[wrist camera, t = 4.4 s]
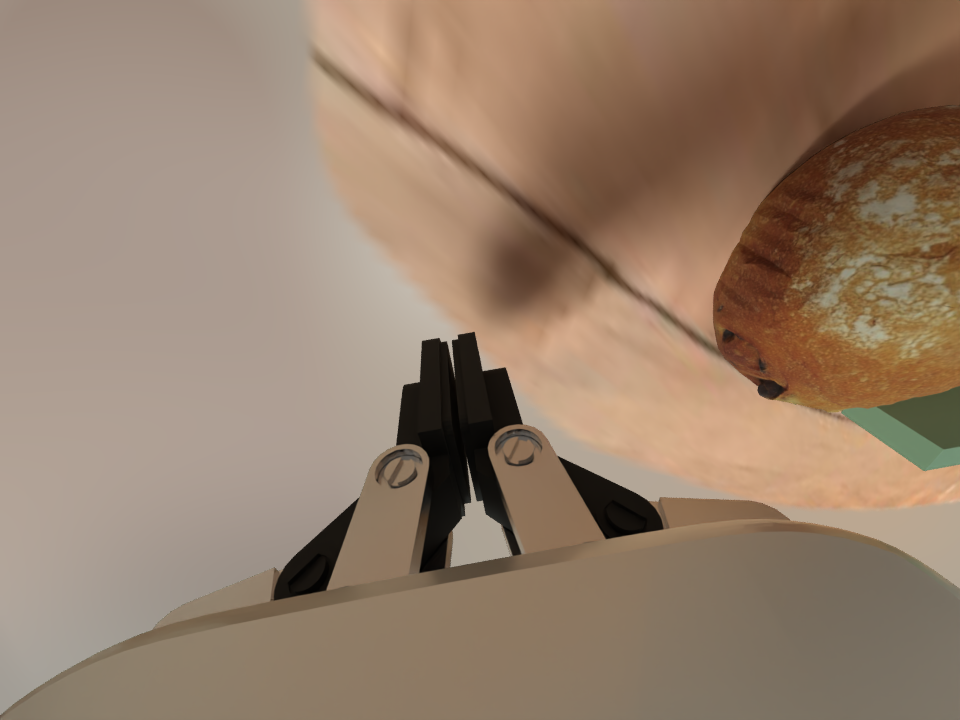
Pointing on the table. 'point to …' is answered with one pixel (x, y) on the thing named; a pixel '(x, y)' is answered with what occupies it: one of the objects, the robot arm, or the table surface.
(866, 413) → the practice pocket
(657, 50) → the table surface
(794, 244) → the bread roll
